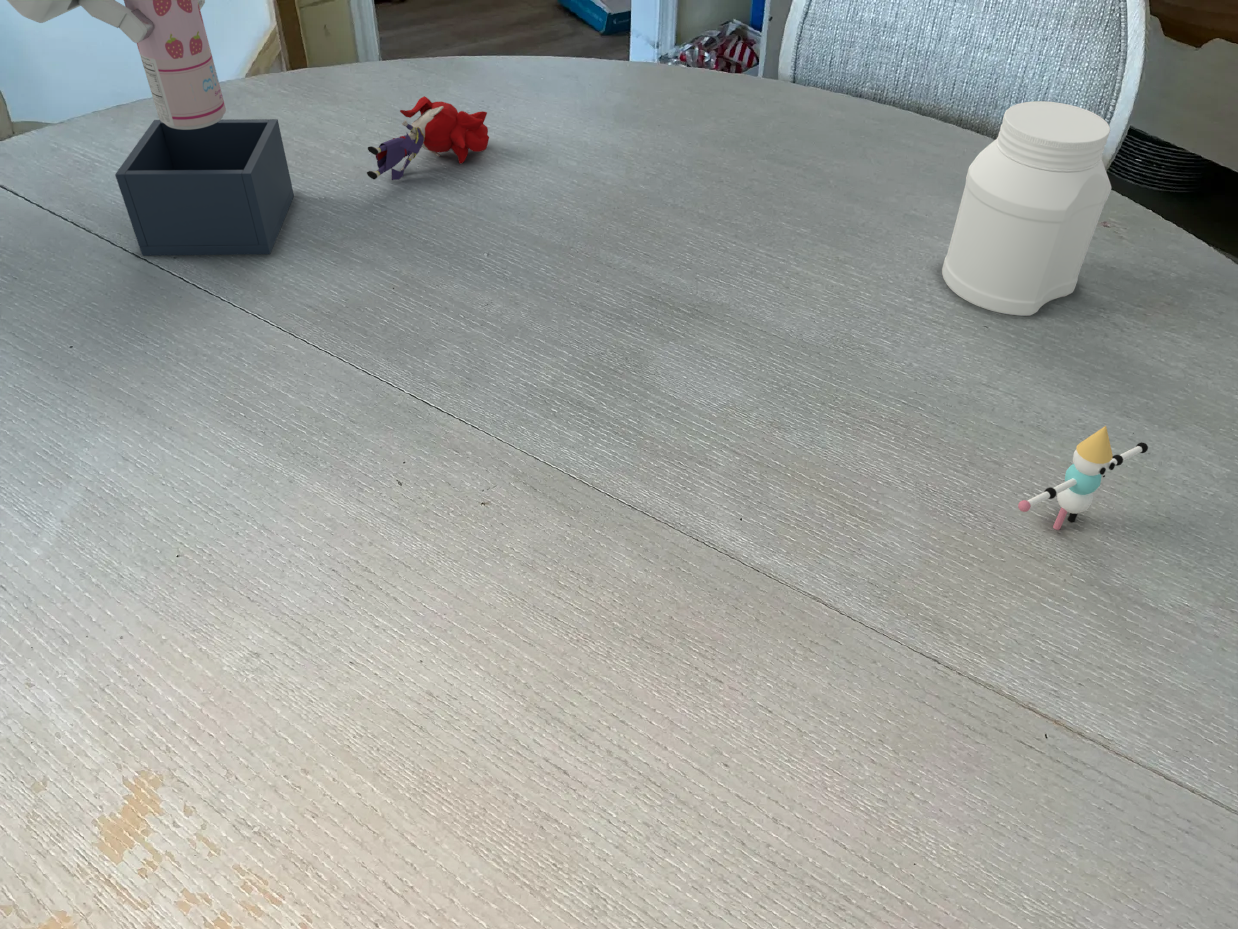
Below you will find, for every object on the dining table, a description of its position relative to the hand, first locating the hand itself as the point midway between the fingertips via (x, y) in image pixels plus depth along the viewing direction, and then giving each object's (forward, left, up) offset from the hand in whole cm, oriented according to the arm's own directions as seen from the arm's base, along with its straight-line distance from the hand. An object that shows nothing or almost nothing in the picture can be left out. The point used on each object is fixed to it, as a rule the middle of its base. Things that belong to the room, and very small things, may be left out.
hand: (173, 21), depth 85 cm
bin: (-1, 0, -19) cm, 19 cm away
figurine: (+18, +12, -19) cm, 29 cm away
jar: (+72, -12, -19) cm, 76 cm away
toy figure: (+66, -43, -19) cm, 81 cm away
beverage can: (0, 0, -8) cm, 9 cm away
